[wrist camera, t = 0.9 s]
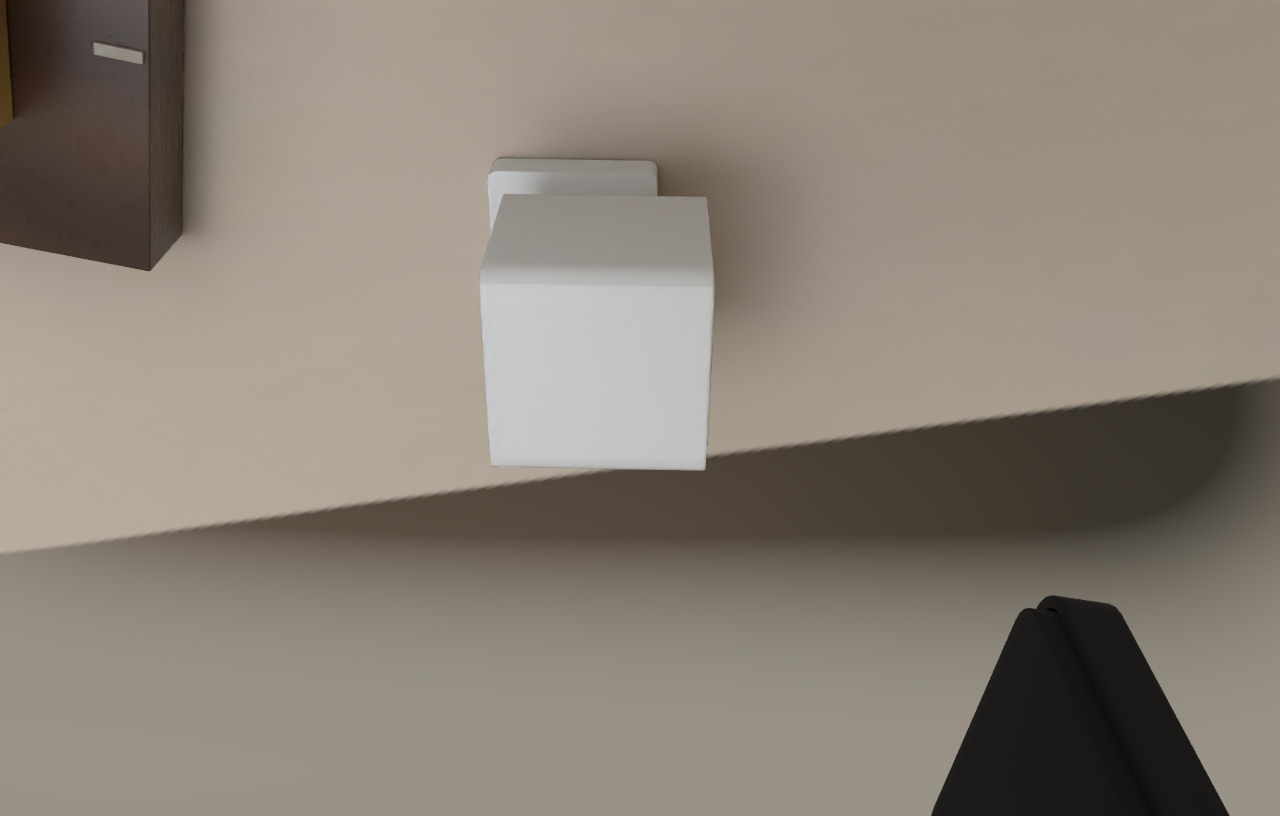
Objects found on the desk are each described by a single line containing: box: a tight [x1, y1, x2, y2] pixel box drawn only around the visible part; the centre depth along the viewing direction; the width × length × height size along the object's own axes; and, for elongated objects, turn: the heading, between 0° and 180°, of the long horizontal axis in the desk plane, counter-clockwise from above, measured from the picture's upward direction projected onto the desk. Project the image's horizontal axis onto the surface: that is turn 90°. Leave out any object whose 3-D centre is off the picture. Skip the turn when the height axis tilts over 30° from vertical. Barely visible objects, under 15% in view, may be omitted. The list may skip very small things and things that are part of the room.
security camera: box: [480, 158, 715, 470], centre depth 37 cm, size 6×7×10 cm
